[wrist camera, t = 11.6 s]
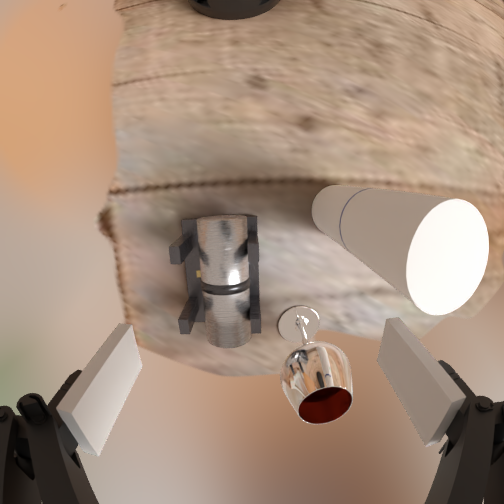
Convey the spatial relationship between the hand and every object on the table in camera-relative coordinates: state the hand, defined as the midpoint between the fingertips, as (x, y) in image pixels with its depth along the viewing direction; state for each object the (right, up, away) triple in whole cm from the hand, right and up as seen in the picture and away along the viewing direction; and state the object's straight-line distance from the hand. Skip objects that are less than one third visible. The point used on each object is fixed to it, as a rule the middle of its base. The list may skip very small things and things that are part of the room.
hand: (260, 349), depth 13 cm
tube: (-5, +2, +25) cm, 26 cm away
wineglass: (+7, -6, +29) cm, 30 cm away
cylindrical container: (+11, +11, +25) cm, 29 cm away
